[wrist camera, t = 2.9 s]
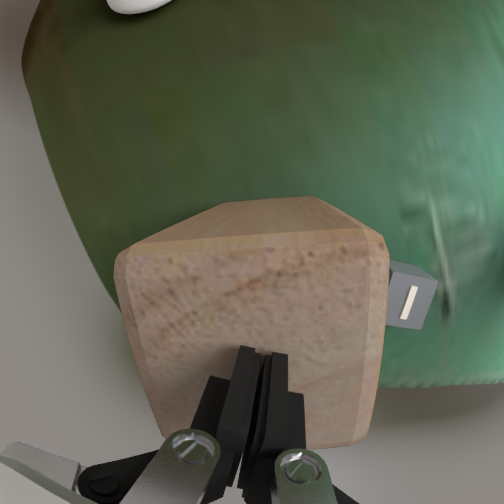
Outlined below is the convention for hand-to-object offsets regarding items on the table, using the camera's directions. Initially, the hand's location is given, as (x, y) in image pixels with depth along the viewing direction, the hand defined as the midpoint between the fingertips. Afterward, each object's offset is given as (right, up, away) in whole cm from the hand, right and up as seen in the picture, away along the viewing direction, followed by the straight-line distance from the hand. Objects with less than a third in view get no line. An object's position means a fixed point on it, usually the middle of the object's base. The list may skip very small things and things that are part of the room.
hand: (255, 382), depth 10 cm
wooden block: (+2, +5, +20) cm, 20 cm away
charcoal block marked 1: (+14, +1, +19) cm, 24 cm away
